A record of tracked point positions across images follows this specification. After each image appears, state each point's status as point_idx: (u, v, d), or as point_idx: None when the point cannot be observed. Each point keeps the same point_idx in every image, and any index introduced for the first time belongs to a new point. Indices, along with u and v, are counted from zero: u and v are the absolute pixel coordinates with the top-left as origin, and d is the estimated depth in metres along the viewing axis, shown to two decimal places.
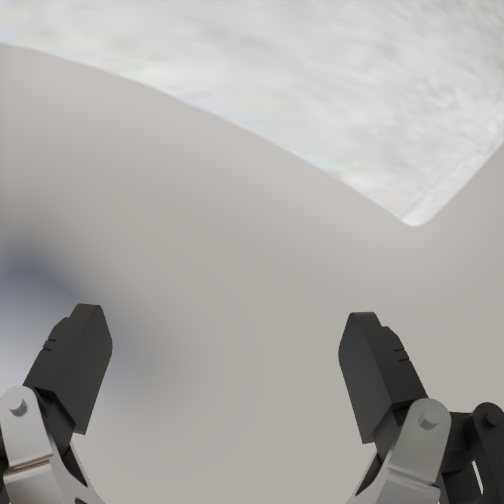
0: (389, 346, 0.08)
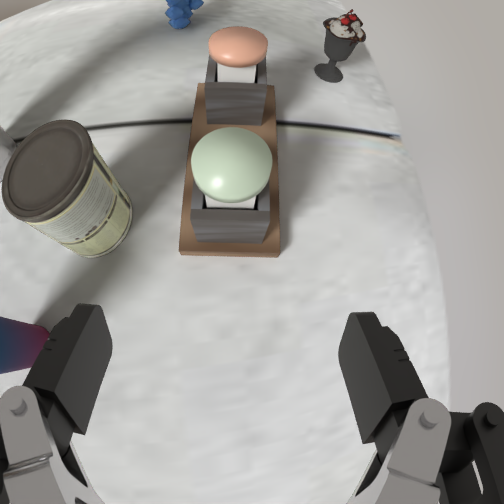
0: (389, 346, 0.08)
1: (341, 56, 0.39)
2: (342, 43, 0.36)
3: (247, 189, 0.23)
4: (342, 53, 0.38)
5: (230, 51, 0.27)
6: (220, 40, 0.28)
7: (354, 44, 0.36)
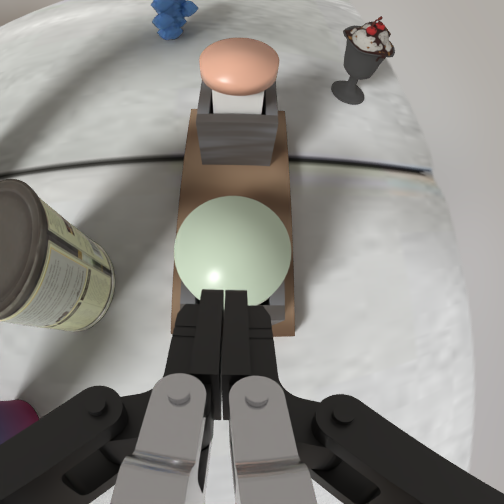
0: (245, 322, 0.08)
1: (365, 73, 0.32)
2: (367, 58, 0.29)
3: (256, 298, 0.16)
4: (367, 70, 0.31)
5: (228, 73, 0.21)
6: (215, 57, 0.21)
7: (381, 59, 0.29)
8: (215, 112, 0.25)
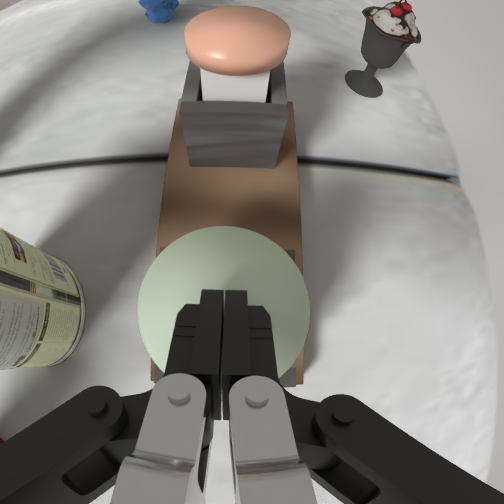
0: (245, 322, 0.08)
1: (386, 61, 0.26)
2: (390, 43, 0.23)
3: None
4: (389, 57, 0.25)
5: (222, 45, 0.14)
6: (205, 27, 0.15)
7: (406, 45, 0.23)
8: (205, 99, 0.19)
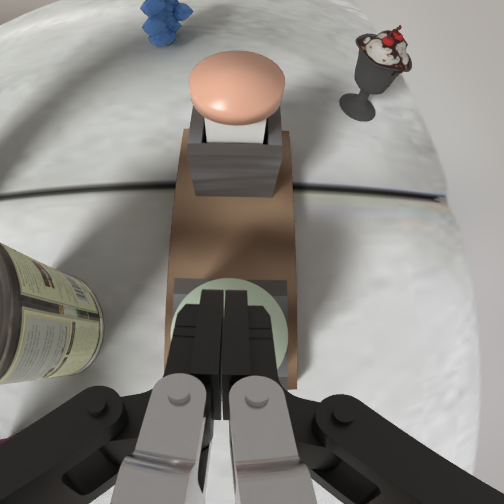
0: (245, 322, 0.08)
1: (378, 88, 0.29)
2: (382, 72, 0.26)
3: None
4: (381, 85, 0.28)
5: (224, 98, 0.18)
6: (208, 76, 0.18)
7: (397, 73, 0.26)
8: (209, 141, 0.22)
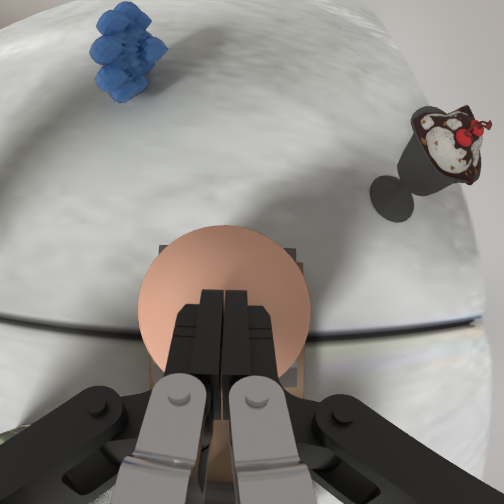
0: (245, 322, 0.08)
1: (430, 192, 0.21)
2: (443, 179, 0.18)
3: None
4: (435, 190, 0.20)
5: None
6: (171, 305, 0.11)
7: None
8: None
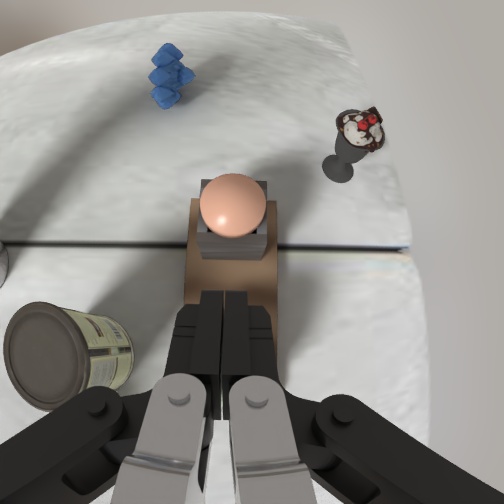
0: (245, 322, 0.08)
1: (354, 160, 0.38)
2: (356, 150, 0.35)
3: None
4: (356, 158, 0.37)
5: (224, 222, 0.29)
6: (213, 200, 0.30)
7: None
8: None
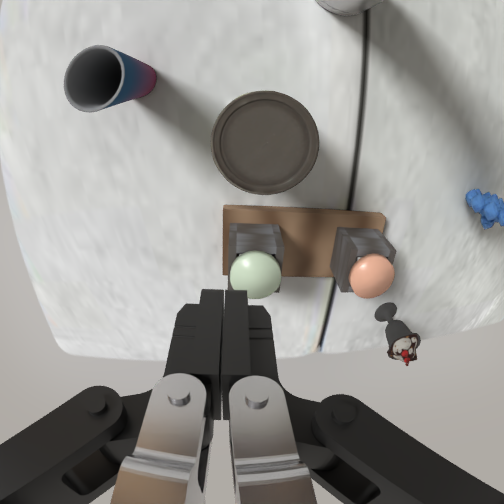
0: (245, 322, 0.08)
1: (386, 333, 0.52)
2: (391, 341, 0.49)
3: (234, 286, 0.39)
4: (387, 336, 0.52)
5: (361, 275, 0.39)
6: (377, 267, 0.39)
7: None
8: None
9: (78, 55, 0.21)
